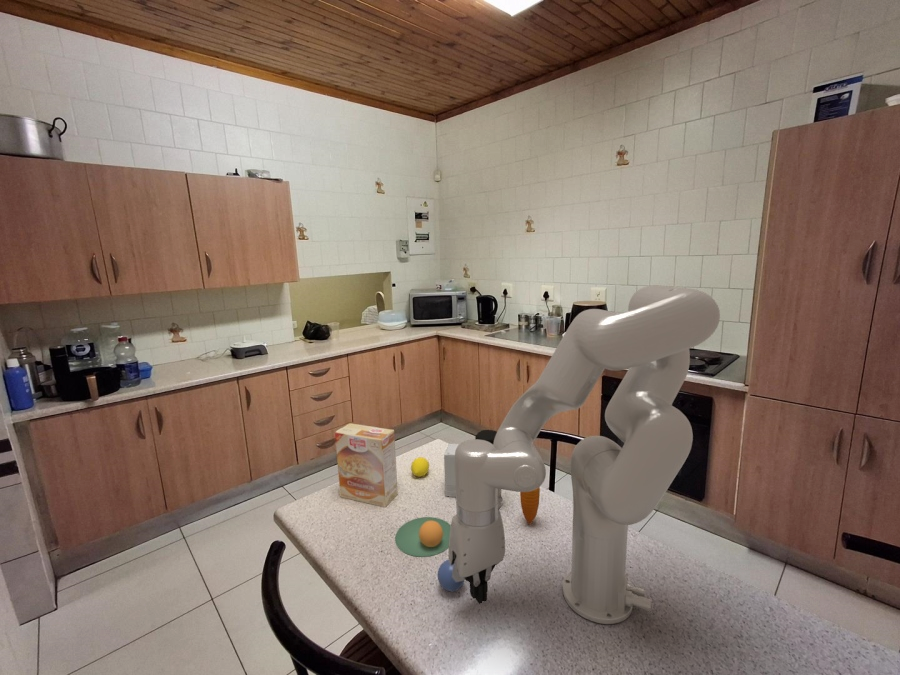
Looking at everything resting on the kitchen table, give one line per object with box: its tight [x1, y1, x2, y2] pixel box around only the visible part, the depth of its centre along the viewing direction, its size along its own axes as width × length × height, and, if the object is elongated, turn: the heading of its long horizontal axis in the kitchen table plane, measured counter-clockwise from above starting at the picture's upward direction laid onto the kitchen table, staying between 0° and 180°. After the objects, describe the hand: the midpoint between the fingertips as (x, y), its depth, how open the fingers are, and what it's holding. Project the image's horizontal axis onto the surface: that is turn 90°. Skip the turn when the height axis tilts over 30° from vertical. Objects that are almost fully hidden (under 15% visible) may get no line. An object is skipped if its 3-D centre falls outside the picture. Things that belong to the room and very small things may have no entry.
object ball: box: [419, 521, 443, 547], centre depth 93 cm, size 6×6×6 cm
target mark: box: [394, 516, 451, 558], centre depth 97 cm, size 14×14×1 cm
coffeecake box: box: [334, 422, 399, 508], centre depth 113 cm, size 15×7×20 cm, turn 67°
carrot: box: [519, 486, 541, 525], centre depth 99 cm, size 5×5×15 cm
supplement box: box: [443, 443, 460, 498], centre depth 114 cm, size 7×7×13 cm
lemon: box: [410, 456, 430, 478], centre depth 125 cm, size 7×5×5 cm
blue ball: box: [437, 559, 466, 592], centre depth 81 cm, size 6×6×6 cm
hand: (478, 597), depth 77 cm, fingers closed
